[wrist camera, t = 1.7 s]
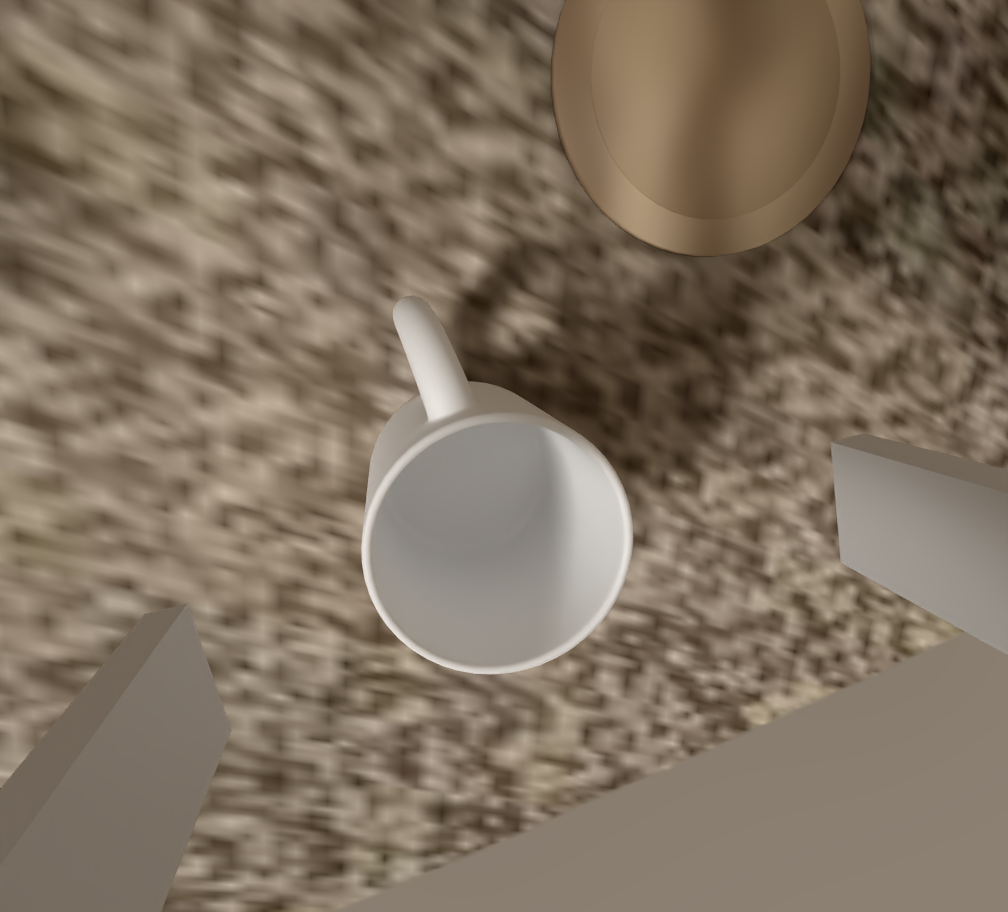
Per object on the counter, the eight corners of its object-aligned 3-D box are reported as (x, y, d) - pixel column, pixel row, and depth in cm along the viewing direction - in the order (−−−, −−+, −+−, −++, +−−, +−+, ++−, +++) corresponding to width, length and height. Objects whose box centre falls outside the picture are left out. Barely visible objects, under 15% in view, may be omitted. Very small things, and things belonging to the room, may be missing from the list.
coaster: (582, 285, 29) (587, 284, 28) (520, -84, 25) (524, -95, 25) (870, 224, 30) (881, 222, 30) (848, -129, 27) (860, -141, 26)
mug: (309, 329, 27) (265, 338, 17) (498, 268, 28) (558, 244, 18) (406, 582, 30) (416, 714, 20) (574, 521, 31) (662, 619, 21)
